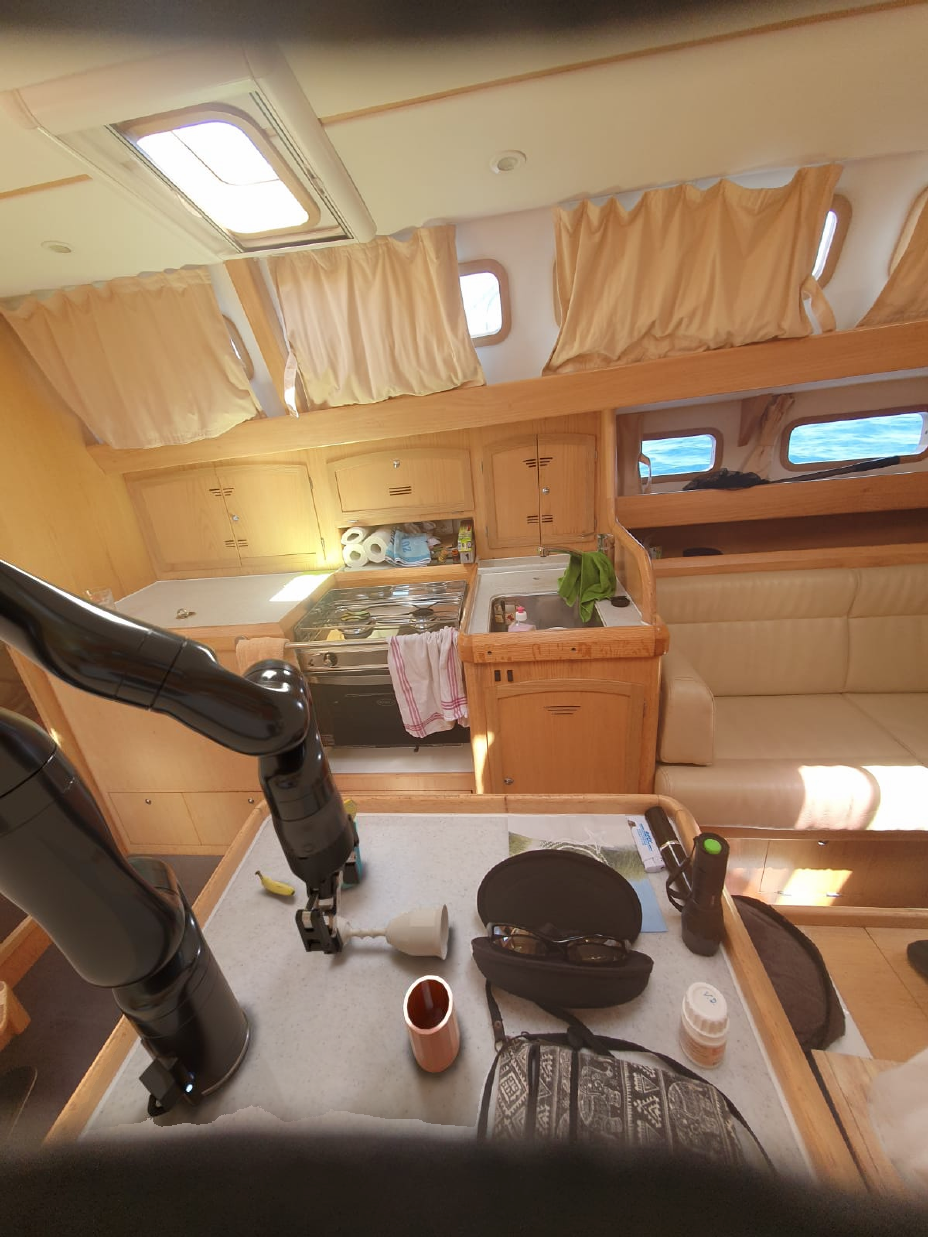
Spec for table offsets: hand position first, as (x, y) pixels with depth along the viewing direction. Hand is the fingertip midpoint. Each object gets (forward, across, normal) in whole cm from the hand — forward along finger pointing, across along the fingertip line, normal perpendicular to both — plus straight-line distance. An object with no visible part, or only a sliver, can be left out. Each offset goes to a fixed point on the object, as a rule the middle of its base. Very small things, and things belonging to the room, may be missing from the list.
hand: (344, 913), depth 58 cm
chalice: (+16, -7, -8) cm, 19 cm away
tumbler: (+18, +6, +10) cm, 22 cm away
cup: (+18, -18, -9) cm, 27 cm away
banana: (+18, -16, -21) cm, 32 cm away
